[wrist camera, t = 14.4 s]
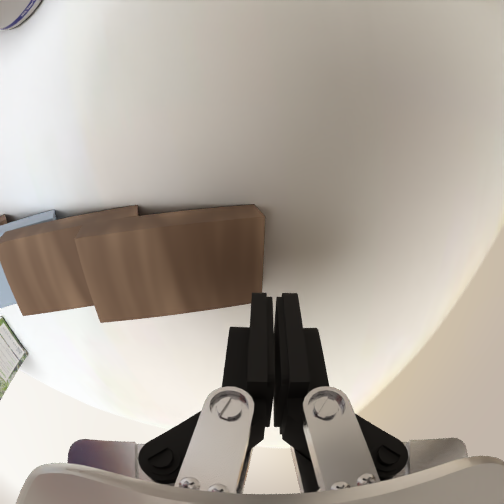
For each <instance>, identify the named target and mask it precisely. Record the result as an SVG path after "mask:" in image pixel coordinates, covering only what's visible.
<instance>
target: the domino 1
mask: <svg viewBox="0 0 504 504" xmlns="http://www.w3.org/2000/svg"><path fill="white" fill-rule="evenodd" d="M53 220H56V215H55V210H50V211H47V212H43V213H40V214H36V215H33V216H30V217H26V218H23V219H20V220H17V221H13V222H10V223H7V224H4V225H1V226H0V237H1V236H2V235H3V234H4V233H5V232H6V231H10V230H14V229H18V228H22V227H26V226H31V225H35V224H39V223H44V222H48V221H53ZM16 303H17V302H16V300H15V298H14V295H13V293H12V291H11V288H10V286H9V283H8V281H7V279H6V276H5V273H4V271H3V268H2V265H1V263H0V308H3V307H6V306H9V305H13V304H16Z"/></svg>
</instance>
